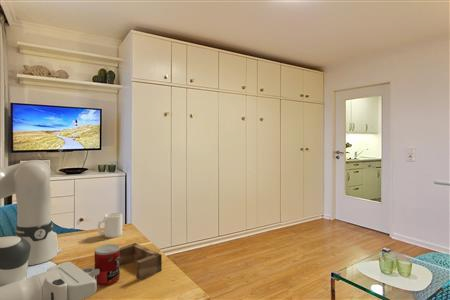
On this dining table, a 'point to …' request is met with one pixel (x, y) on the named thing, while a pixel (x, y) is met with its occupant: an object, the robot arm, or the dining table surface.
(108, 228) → the cup
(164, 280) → the dining table surface
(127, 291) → the dining table surface
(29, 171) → the robot arm
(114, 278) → the canned food
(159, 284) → the dining table surface
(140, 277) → the corral
